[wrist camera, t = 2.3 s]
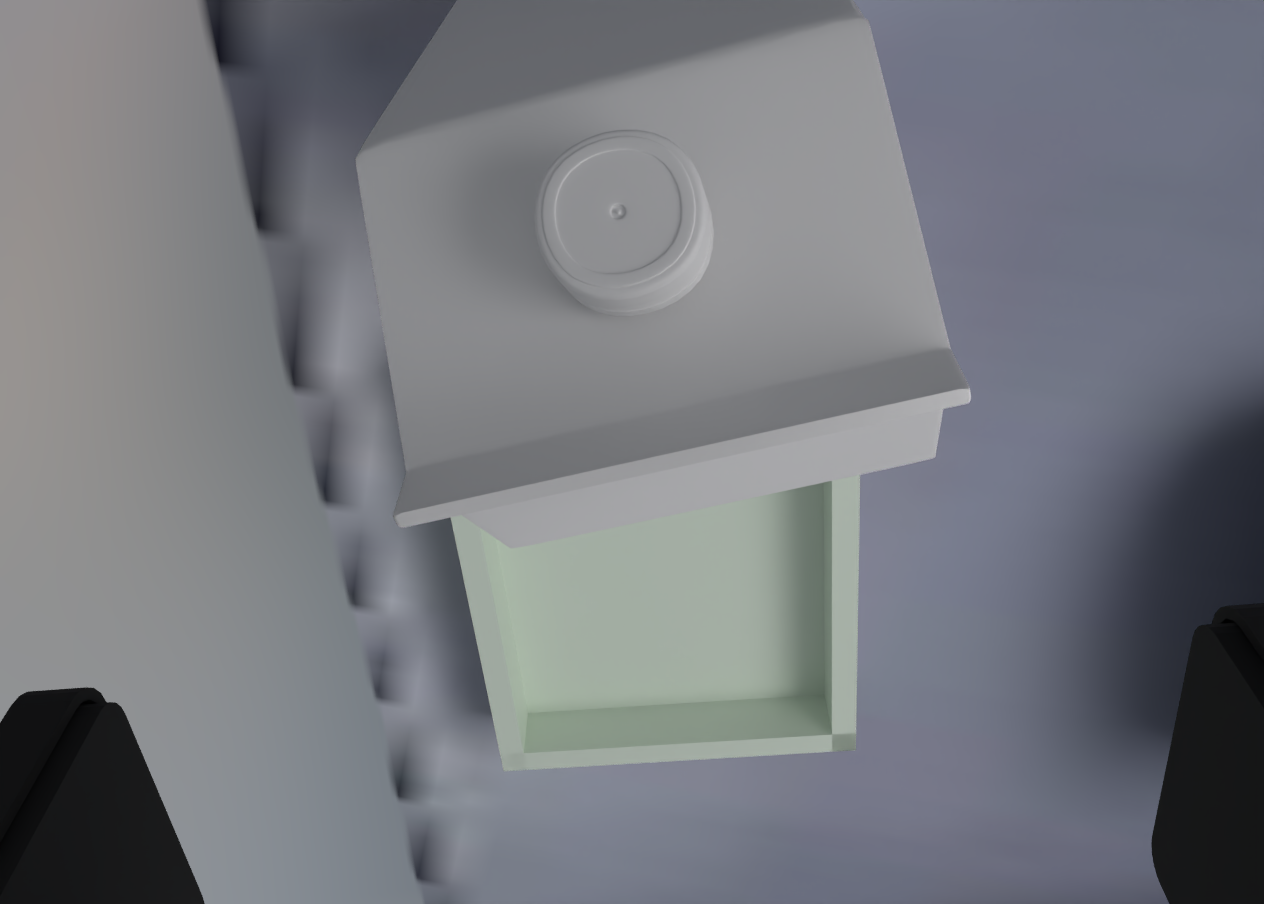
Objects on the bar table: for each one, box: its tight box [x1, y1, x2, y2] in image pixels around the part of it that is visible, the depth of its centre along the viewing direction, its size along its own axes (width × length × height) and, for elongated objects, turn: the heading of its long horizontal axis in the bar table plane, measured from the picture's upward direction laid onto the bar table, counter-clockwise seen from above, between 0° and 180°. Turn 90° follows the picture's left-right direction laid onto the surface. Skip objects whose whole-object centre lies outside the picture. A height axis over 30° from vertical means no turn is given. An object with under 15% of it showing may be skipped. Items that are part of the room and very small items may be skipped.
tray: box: [451, 475, 860, 771], centre depth 37 cm, size 15×12×2 cm
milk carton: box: [355, 0, 971, 548], centre depth 22 cm, size 7×7×19 cm
